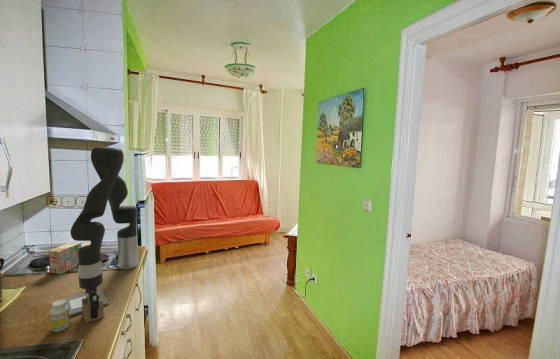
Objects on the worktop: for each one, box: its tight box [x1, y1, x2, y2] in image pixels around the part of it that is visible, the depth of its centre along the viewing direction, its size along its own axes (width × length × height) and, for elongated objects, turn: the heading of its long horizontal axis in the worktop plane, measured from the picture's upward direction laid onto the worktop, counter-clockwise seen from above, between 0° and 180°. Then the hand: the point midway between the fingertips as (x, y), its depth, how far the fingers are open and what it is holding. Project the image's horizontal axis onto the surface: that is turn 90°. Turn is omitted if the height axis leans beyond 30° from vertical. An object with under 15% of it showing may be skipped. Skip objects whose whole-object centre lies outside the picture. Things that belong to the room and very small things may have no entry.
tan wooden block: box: [82, 294, 105, 324], centre depth 108 cm, size 6×6×7 cm
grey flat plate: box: [62, 288, 109, 318], centre depth 116 cm, size 14×16×1 cm
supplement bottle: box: [49, 299, 71, 332], centre depth 101 cm, size 5×5×10 cm
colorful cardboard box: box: [48, 241, 91, 275], centre depth 150 cm, size 21×6×12 cm, turn 168°
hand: (93, 313), depth 109 cm, fingers closed on tan wooden block, 6 cm apart
